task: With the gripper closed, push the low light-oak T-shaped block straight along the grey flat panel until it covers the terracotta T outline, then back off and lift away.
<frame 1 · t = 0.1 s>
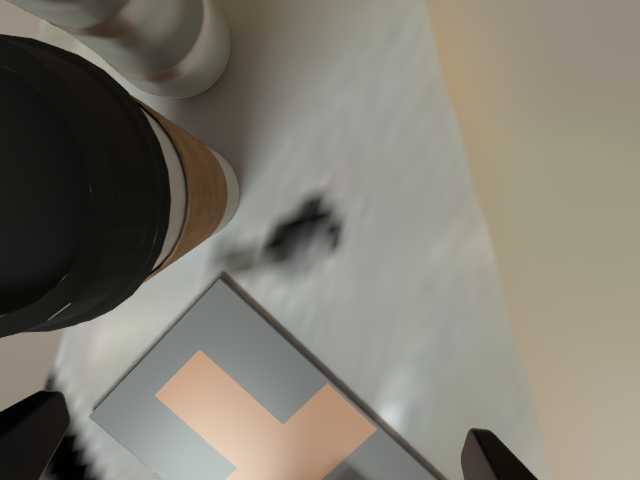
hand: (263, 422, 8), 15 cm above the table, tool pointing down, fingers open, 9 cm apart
plastic bottle: (187, 54, 22), on the table
coffee cup: (196, 192, 23), on the table
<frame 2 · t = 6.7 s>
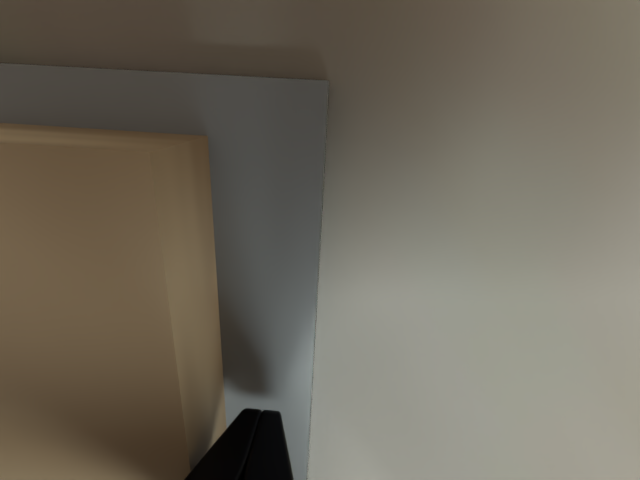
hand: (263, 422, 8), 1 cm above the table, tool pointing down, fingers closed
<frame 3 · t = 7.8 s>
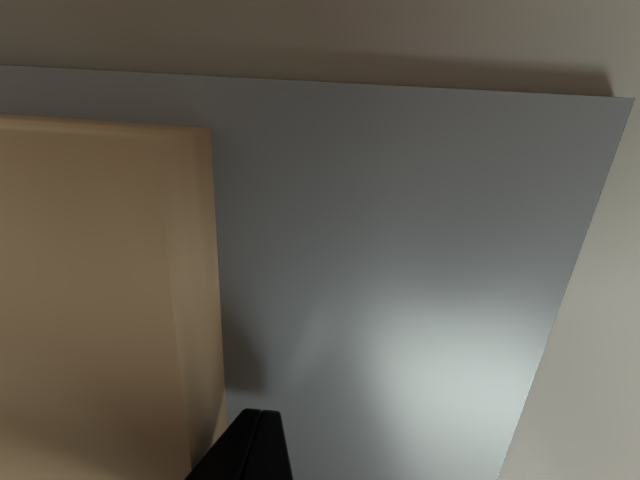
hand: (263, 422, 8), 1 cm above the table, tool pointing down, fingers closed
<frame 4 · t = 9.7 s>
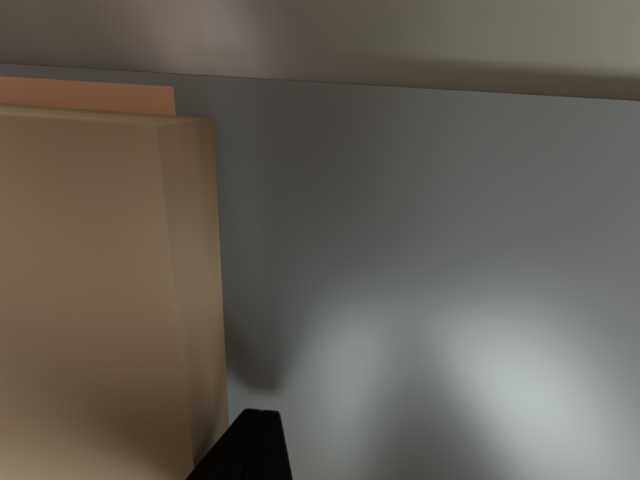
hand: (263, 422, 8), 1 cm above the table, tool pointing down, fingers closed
grey flat panel: (202, 381, 9), on the table
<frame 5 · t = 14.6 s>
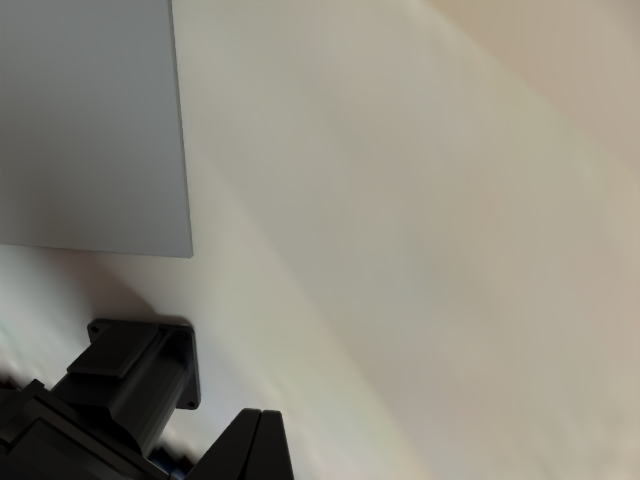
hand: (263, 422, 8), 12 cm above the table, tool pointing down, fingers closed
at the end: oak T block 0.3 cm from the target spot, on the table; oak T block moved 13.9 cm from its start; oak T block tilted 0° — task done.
